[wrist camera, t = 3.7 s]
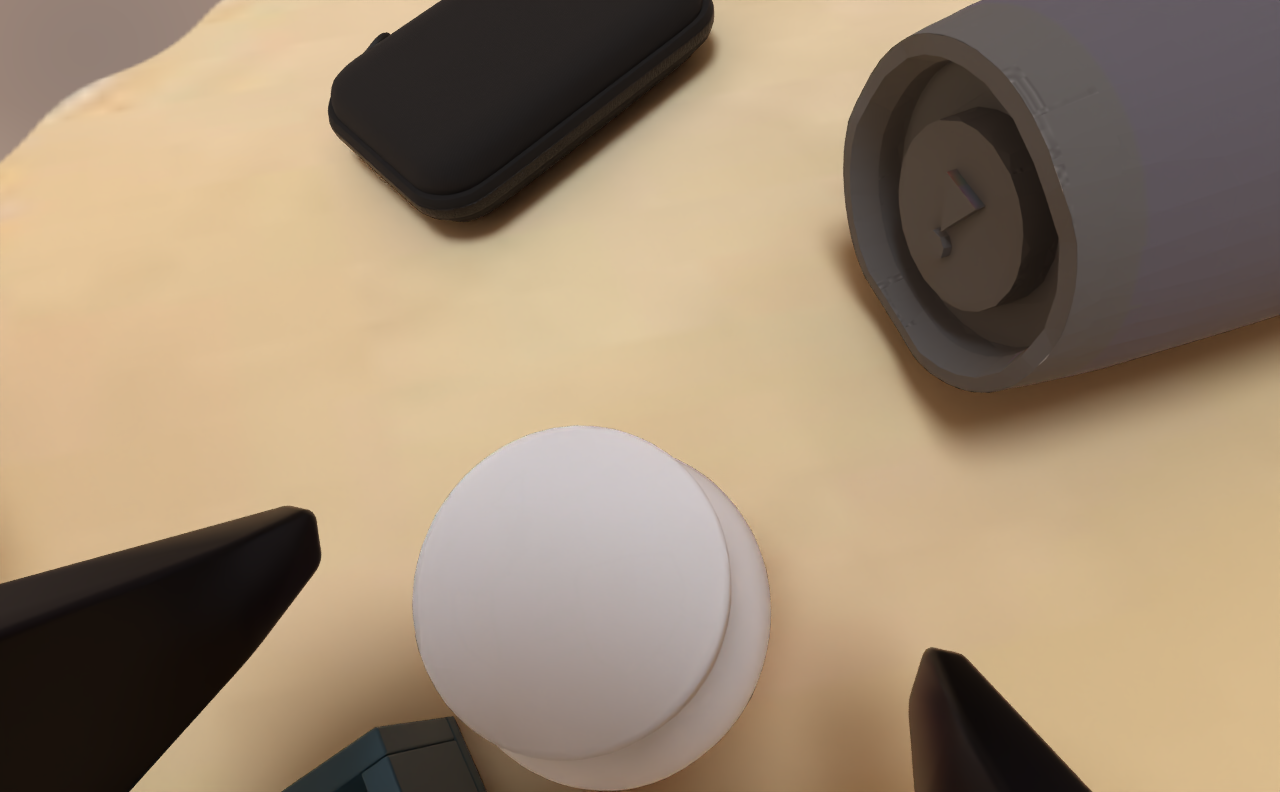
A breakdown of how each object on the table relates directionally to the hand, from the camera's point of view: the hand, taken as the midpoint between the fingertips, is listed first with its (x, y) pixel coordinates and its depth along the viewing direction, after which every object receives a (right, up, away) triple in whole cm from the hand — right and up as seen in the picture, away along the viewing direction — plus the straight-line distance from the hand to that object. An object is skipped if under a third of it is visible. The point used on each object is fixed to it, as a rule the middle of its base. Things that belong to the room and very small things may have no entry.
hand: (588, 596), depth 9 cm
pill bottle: (+1, -3, +8) cm, 9 cm away
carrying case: (-4, +16, +17) cm, 24 cm away
